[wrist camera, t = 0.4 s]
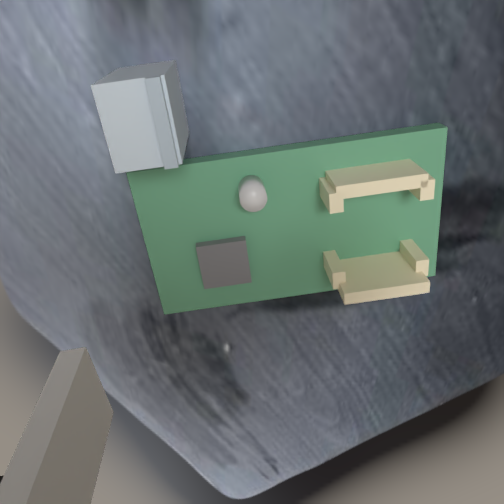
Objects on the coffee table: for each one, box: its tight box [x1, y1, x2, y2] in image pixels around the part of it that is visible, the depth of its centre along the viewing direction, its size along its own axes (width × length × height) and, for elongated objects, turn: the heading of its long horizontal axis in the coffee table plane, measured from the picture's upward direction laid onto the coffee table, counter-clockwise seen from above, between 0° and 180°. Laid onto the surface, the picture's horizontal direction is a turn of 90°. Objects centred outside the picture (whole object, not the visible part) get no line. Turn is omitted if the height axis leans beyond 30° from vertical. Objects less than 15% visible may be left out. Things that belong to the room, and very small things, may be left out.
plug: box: [91, 60, 189, 173], centre depth 29 cm, size 5×4×9 cm
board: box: [126, 123, 447, 314], centre depth 35 cm, size 13×24×6 cm, turn 97°
